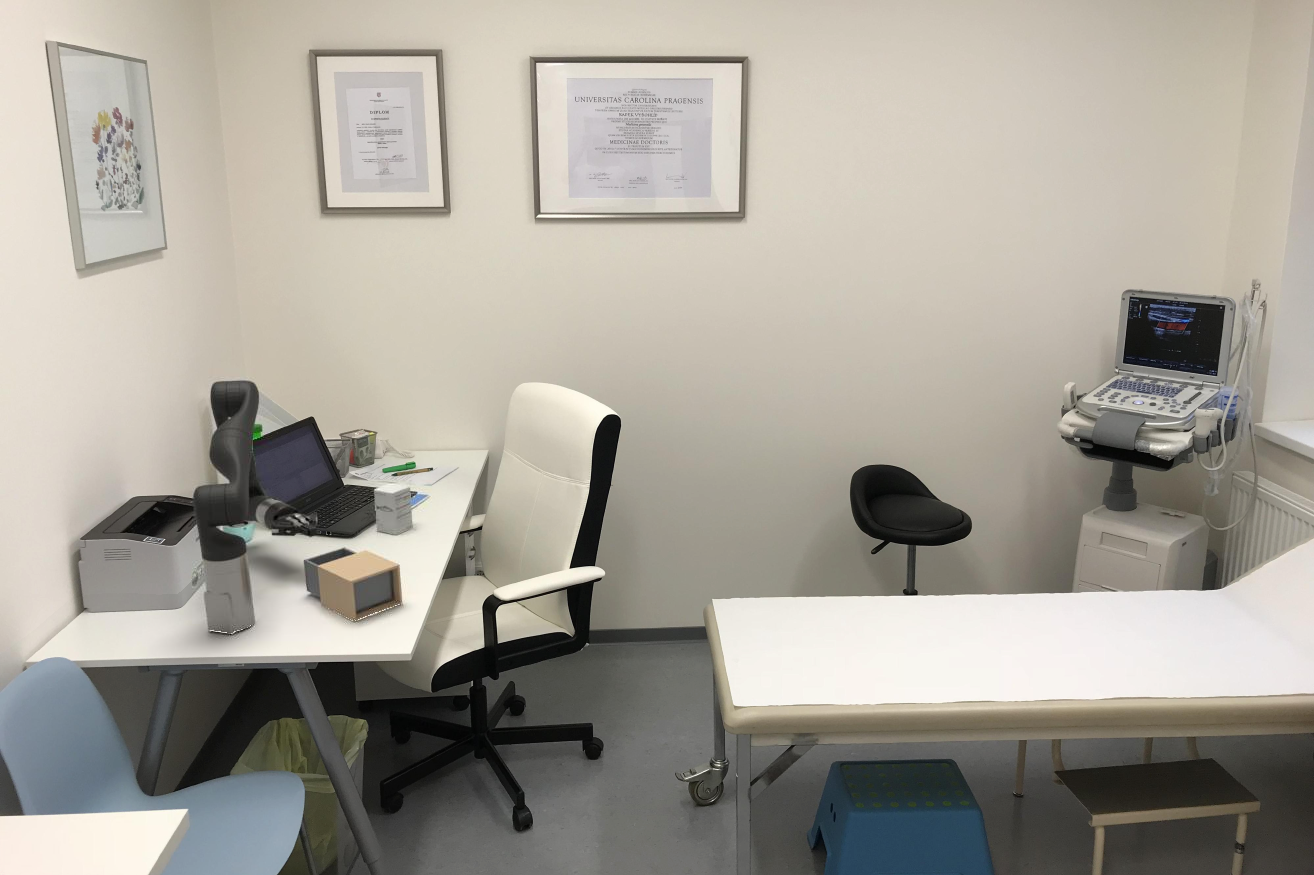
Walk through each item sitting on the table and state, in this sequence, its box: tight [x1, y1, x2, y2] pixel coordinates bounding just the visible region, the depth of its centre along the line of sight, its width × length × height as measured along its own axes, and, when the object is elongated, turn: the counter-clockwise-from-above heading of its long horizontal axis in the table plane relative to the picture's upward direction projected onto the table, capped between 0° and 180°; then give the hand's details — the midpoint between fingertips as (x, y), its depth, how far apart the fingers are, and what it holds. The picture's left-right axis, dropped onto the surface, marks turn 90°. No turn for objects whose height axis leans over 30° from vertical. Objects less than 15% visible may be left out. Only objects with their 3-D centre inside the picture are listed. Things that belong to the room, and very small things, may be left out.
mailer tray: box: [303, 547, 394, 613], centre depth 242 cm, size 20×11×8 cm, turn 48°
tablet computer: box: [411, 493, 430, 509], centre depth 310 cm, size 19×13×1 cm, turn 166°
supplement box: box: [373, 482, 413, 536], centre depth 287 cm, size 7×7×13 cm
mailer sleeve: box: [317, 550, 403, 622], centre depth 239 cm, size 14×13×10 cm
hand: (313, 532), depth 249 cm, fingers closed
